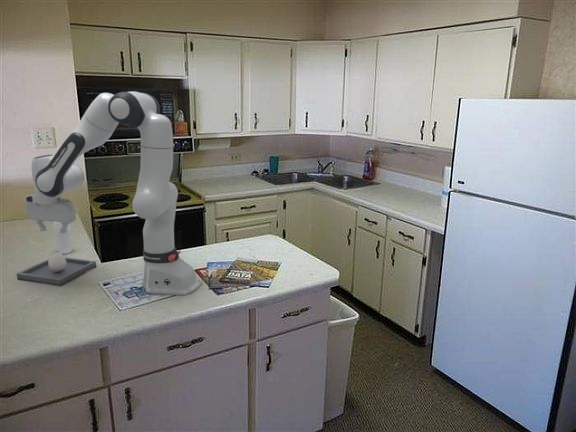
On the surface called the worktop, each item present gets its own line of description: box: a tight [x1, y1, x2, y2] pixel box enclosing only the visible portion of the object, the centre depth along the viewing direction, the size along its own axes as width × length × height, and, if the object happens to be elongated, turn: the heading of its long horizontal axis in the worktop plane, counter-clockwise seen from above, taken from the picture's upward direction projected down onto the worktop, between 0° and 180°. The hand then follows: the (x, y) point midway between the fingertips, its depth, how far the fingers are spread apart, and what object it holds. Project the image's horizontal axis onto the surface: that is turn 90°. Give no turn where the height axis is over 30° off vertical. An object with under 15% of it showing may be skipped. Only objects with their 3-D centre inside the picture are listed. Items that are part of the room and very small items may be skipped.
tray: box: [16, 256, 97, 287], centre depth 176 cm, size 20×20×2 cm
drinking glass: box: [52, 222, 73, 255], centre depth 196 cm, size 7×7×15 cm
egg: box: [48, 251, 66, 272], centre depth 175 cm, size 6×6×8 cm
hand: (53, 231), depth 171 cm, fingers open, 8 cm apart
